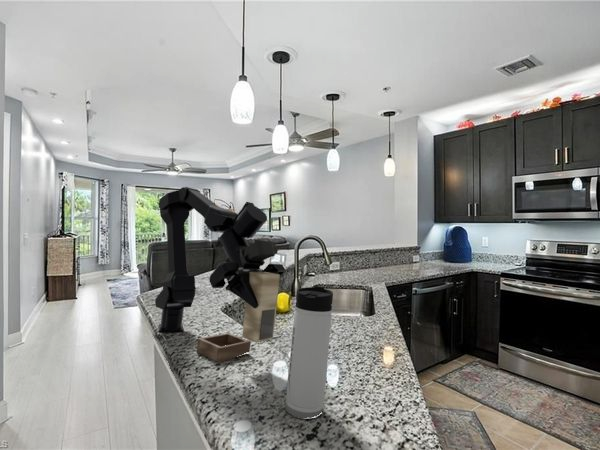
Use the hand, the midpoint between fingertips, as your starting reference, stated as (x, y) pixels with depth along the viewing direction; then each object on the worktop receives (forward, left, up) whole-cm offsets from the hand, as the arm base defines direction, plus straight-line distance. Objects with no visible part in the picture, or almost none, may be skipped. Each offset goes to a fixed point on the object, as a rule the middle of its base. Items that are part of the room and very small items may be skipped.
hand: (265, 306), depth 69 cm
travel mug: (+18, +2, -13) cm, 22 cm away
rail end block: (-1, -1, -7) cm, 7 cm away
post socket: (-11, -6, -13) cm, 18 cm away
